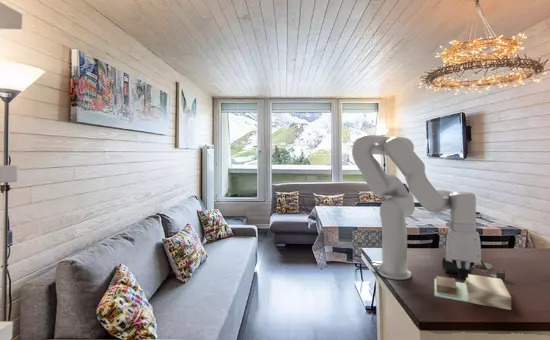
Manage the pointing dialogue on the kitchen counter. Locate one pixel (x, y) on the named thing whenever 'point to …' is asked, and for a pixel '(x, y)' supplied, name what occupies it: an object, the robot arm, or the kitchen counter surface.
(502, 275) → the strap clip
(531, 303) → the kitchen counter surface
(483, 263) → the eiffel tower figurine
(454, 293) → the brown box
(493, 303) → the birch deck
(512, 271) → the kitchen counter surface
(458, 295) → the mat
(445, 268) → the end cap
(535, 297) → the kitchen counter surface
